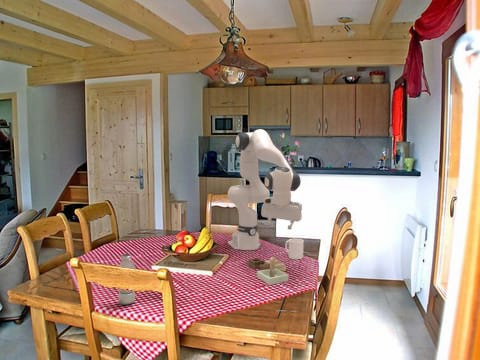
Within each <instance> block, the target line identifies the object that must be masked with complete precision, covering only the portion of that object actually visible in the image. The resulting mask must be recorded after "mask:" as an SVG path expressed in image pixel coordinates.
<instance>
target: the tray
mask: <svg viewBox="0 0 480 360" xmlns="http://www.w3.org/2000/svg"><path fill="white" fill-rule="evenodd" d="M289 276H290V275H289V274H288V273H286V272H285V271H284V272H282V271H280V270H278V269H276V268H275V277H271V278H270V269H267V270H262V271H261V270H257V271H256V277H257V278H259V279H260V280H261V281H263V282H264V283H265V284H266V285H268V286H272V285H277V284H283V283H285V282H286V283H287V282H289Z"/></svg>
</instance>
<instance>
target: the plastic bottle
mask: <svg viewBox="0 0 480 360" xmlns="http://www.w3.org/2000/svg"><path fill="white" fill-rule="evenodd" d="M132 259H133V258H132V254H130V253H125V254H121V262H120V263H119V265H118V267H124V268H131V269H135V270H136V265H135V264H134V262H133V261H132ZM117 299H118V303H120V305H126V306H127V305H131V304H133V303H134V302H135V300H136V292H135V290H134V291H130V290H122V289H118V296H117Z"/></svg>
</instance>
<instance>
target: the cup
mask: <svg viewBox="0 0 480 360" xmlns="http://www.w3.org/2000/svg"><path fill="white" fill-rule="evenodd" d="M304 241H305V240H304V239H302V238H290V239H288V240H286V242H285V245H284V246H285V247H284V248H285V251H286V252H287V253H288V258H289V259H291V260H294V259H295V261H296V260H298V259H300V260H302V259H304V244H305V243H304Z"/></svg>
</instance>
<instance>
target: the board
mask: <svg viewBox="0 0 480 360" xmlns="http://www.w3.org/2000/svg"><path fill="white" fill-rule="evenodd" d="M263 261H264V264H267V265H269V266H270V259H269V260H268V259H267V260H263ZM275 268H276V269H278V270H280V271H282V272H284V273H285V272H286V271H287V265H286V264H285V263H283V262H281V261H280V260H278V259H276V258H275Z"/></svg>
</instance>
